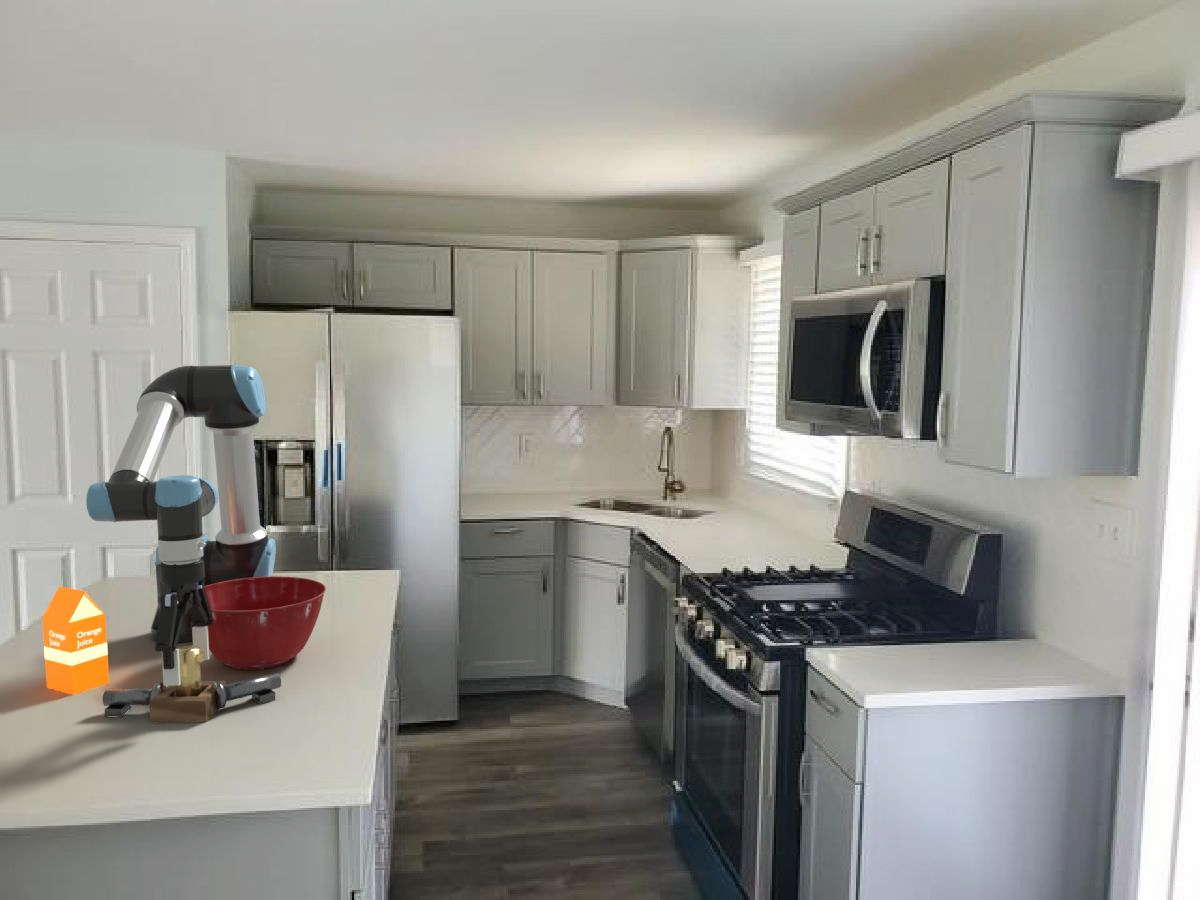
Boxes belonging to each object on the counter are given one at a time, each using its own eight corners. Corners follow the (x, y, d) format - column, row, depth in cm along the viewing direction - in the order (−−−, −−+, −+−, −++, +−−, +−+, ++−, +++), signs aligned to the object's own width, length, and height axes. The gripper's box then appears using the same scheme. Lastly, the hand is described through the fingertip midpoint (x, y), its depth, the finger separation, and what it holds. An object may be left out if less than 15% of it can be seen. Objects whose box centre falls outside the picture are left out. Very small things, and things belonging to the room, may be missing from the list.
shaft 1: (167, 707, 173) (166, 679, 173) (156, 717, 168) (154, 688, 168) (114, 707, 173) (112, 679, 172) (100, 718, 168) (99, 689, 167)
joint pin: (178, 706, 173) (175, 645, 172) (210, 706, 173) (207, 645, 172) (168, 716, 169) (165, 653, 168) (201, 715, 169) (198, 652, 168)
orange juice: (83, 675, 190) (77, 582, 188) (110, 682, 186) (104, 587, 184) (45, 688, 183) (39, 590, 181) (72, 695, 179) (66, 596, 177)
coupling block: (173, 702, 176) (172, 681, 175) (226, 701, 176) (225, 681, 176) (150, 722, 166) (149, 701, 165) (206, 721, 166) (205, 700, 166)
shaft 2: (221, 714, 169) (220, 686, 169) (211, 707, 173) (210, 679, 172) (284, 698, 177) (282, 671, 177) (273, 691, 181) (272, 664, 180)
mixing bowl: (350, 643, 211) (348, 578, 209) (284, 687, 183) (281, 613, 181) (241, 636, 217) (238, 572, 215) (160, 677, 189) (156, 605, 187)
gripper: (174, 576, 156) (180, 696, 158) (226, 545, 180) (231, 649, 183) (129, 576, 155) (136, 697, 157) (188, 546, 180) (193, 650, 182)
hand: (187, 671), depth 170 cm, fingers open, 13 cm apart
